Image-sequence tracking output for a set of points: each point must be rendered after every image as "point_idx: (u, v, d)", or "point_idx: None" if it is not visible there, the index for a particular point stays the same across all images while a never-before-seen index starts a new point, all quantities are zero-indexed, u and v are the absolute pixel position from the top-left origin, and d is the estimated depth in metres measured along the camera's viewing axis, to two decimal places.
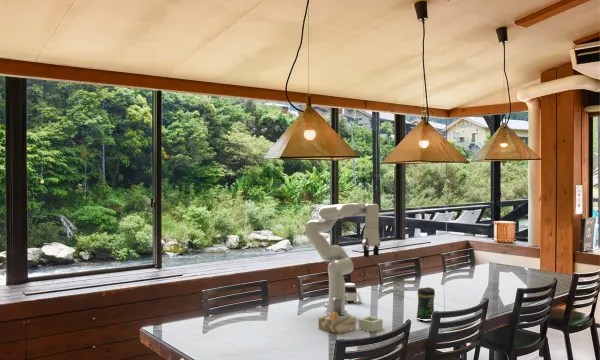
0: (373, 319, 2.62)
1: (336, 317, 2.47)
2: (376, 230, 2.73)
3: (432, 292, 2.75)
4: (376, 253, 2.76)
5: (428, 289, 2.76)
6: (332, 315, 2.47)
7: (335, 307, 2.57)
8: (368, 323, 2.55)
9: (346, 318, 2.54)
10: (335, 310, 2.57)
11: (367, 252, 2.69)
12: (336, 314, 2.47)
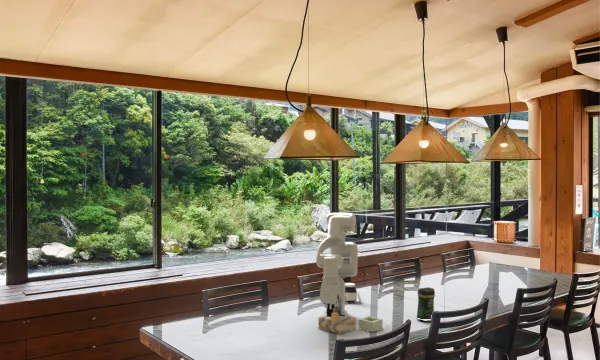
0: (373, 319, 2.62)
1: (337, 317, 2.47)
2: None
3: (432, 292, 2.75)
4: None
5: (428, 289, 2.76)
6: (333, 315, 2.47)
7: (335, 307, 2.57)
8: (368, 323, 2.55)
9: (347, 318, 2.54)
10: (335, 310, 2.57)
11: None
12: (337, 314, 2.47)
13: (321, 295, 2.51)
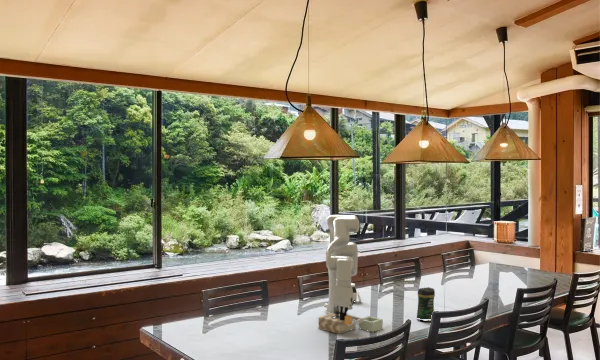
0: (373, 319, 2.62)
1: (350, 321, 2.41)
2: None
3: (432, 292, 2.75)
4: None
5: (428, 289, 2.76)
6: (346, 318, 2.41)
7: (335, 307, 2.57)
8: (368, 323, 2.55)
9: (360, 321, 2.49)
10: (335, 310, 2.57)
11: None
12: (350, 317, 2.41)
13: (334, 298, 2.45)
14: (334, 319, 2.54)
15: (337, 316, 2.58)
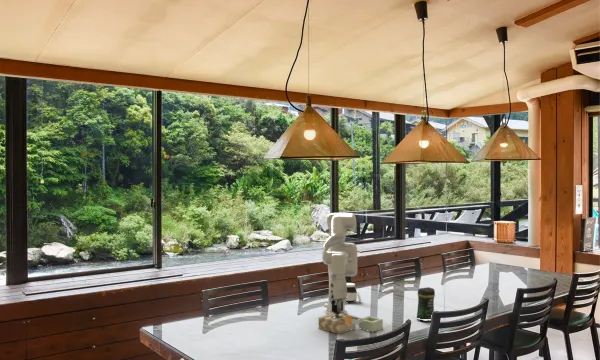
0: (373, 319, 2.62)
1: (350, 321, 2.41)
2: None
3: (432, 292, 2.75)
4: None
5: (428, 289, 2.76)
6: (346, 318, 2.41)
7: None
8: (368, 323, 2.55)
9: (360, 321, 2.49)
10: None
11: None
12: (350, 317, 2.41)
13: (337, 293, 2.54)
14: (334, 319, 2.54)
15: (337, 316, 2.58)
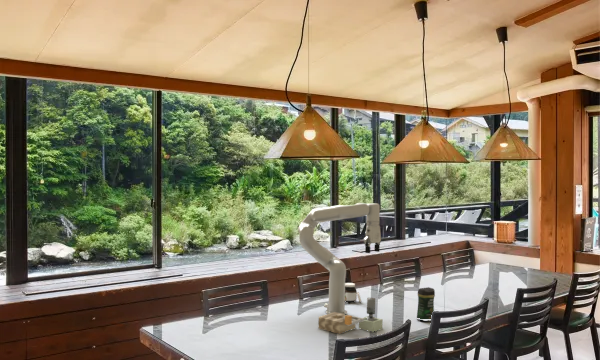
0: None
1: (350, 321, 2.41)
2: None
3: (432, 292, 2.75)
4: None
5: (428, 289, 2.76)
6: (346, 318, 2.41)
7: (369, 307, 2.58)
8: (368, 323, 2.55)
9: (360, 321, 2.49)
10: (369, 310, 2.58)
11: None
12: (350, 317, 2.41)
13: (373, 237, 2.88)
14: (334, 319, 2.54)
15: (371, 316, 2.58)
